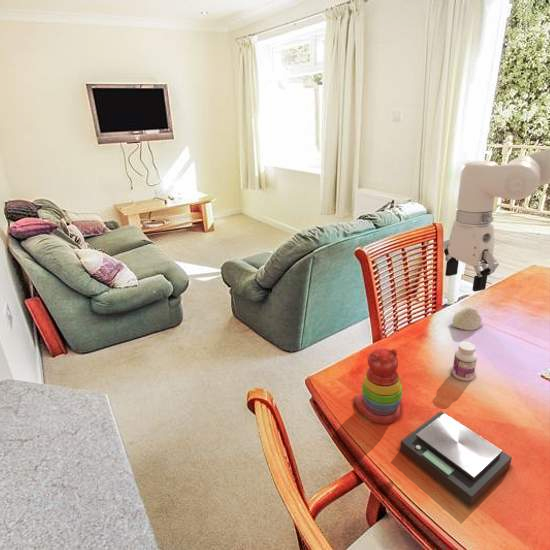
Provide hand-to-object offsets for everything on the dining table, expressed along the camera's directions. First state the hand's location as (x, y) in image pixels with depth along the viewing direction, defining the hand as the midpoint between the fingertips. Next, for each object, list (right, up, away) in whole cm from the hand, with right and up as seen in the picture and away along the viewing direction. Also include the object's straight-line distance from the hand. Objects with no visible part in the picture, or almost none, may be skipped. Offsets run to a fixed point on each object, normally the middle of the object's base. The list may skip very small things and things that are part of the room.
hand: (464, 282), depth 94 cm
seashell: (+16, -15, +31) cm, 38 cm away
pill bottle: (+4, -26, +8) cm, 27 cm away
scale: (-10, -37, -15) cm, 41 cm away
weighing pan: (-9, -34, -16) cm, 39 cm away
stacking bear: (-21, -32, -1) cm, 39 cm away
